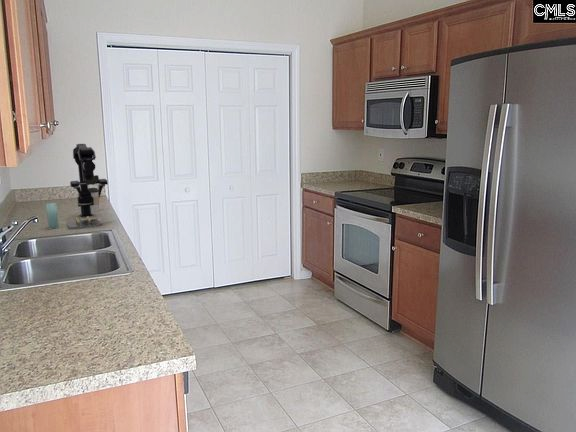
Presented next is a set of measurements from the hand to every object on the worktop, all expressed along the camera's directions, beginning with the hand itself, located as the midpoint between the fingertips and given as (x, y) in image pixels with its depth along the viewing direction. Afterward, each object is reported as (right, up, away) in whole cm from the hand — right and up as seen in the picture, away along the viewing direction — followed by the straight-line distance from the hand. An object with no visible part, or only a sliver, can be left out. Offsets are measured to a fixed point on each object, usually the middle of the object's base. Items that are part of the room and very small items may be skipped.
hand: (90, 198), depth 262 cm
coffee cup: (-16, -7, +42) cm, 45 cm away
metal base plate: (-4, -15, 0) cm, 16 cm away
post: (-18, -16, -5) cm, 25 cm away
